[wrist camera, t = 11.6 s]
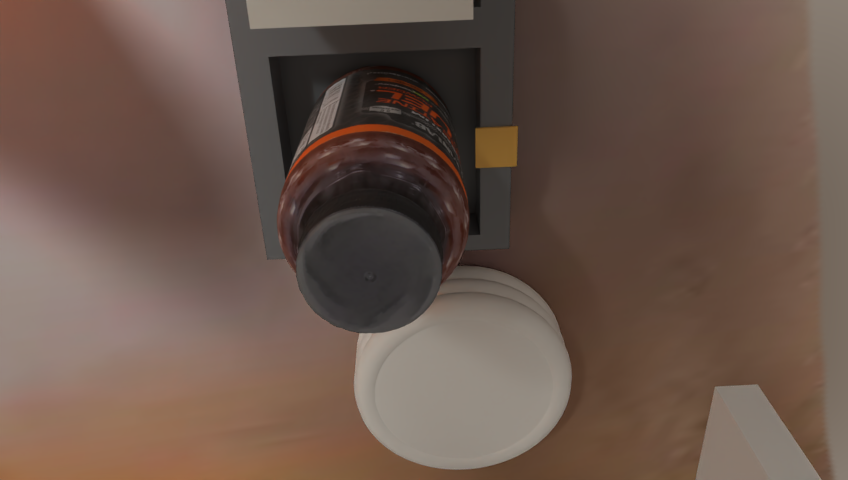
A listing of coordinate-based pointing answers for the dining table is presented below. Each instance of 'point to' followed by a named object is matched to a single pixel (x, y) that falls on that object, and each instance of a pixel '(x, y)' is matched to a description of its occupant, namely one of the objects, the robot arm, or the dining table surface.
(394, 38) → the grey compartment organizer
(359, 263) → the supplement bottle
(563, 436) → the dining table surface
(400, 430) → the coaster
